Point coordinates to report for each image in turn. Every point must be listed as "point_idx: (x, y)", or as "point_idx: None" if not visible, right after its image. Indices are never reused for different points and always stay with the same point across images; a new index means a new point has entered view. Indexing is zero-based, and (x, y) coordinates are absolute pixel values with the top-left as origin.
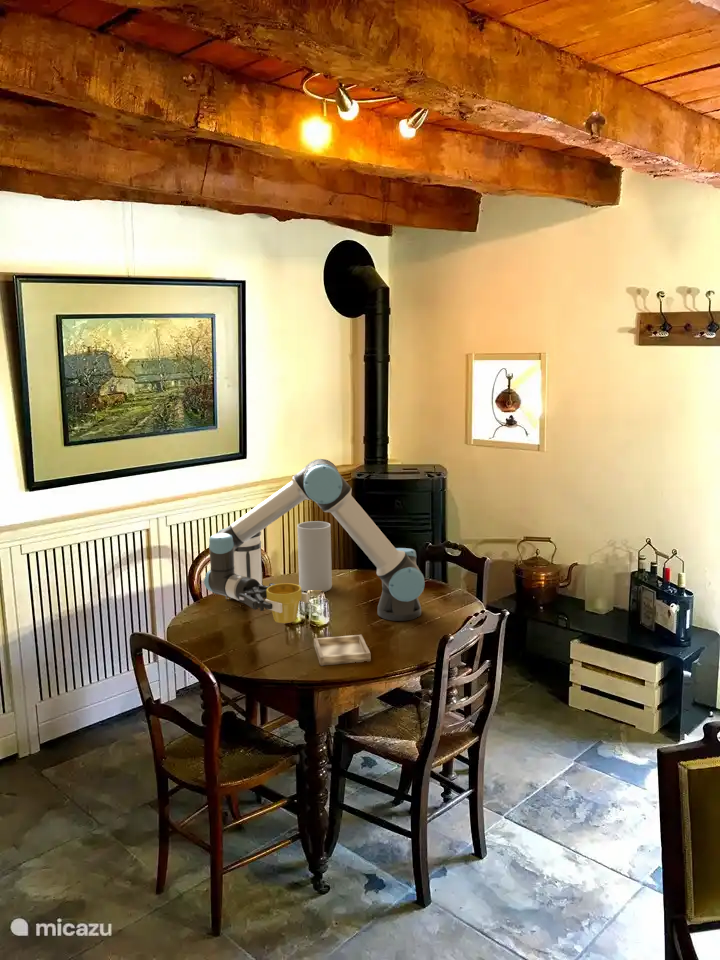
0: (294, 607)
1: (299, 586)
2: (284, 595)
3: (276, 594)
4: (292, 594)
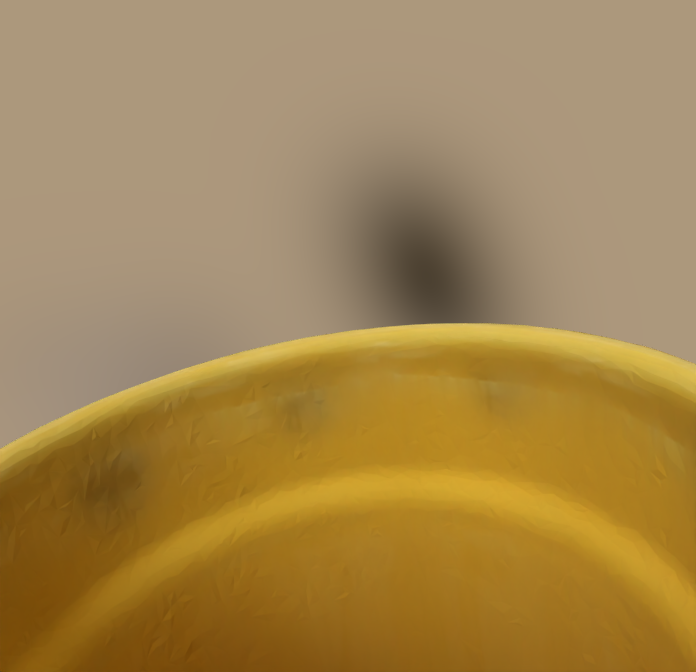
0: (382, 586)
1: (40, 434)
2: (546, 345)
3: (685, 366)
4: (413, 343)
